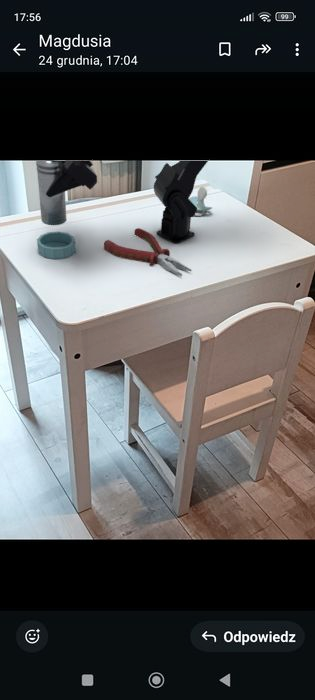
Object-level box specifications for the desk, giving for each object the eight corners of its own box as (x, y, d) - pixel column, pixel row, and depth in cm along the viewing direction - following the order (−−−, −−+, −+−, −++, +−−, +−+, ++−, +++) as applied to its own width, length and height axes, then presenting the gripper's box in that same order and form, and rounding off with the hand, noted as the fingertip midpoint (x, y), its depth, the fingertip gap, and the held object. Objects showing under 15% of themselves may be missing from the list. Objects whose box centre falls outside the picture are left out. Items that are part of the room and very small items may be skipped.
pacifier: (193, 220, 138) (214, 215, 141) (195, 195, 134) (216, 191, 137) (178, 208, 143) (199, 203, 146) (180, 184, 139) (200, 180, 142)
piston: (50, 212, 122) (46, 151, 114) (71, 217, 120) (68, 156, 112) (36, 221, 118) (30, 159, 110) (57, 227, 116) (53, 165, 108)
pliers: (167, 287, 114) (168, 276, 112) (101, 250, 124) (101, 239, 123) (204, 269, 121) (205, 258, 119) (138, 235, 131) (138, 225, 130)
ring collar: (59, 238, 127) (58, 228, 125) (82, 251, 123) (82, 241, 121) (30, 249, 122) (29, 239, 121) (53, 262, 118) (52, 252, 117)
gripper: (56, 88, 112) (6, 148, 116) (77, 116, 99) (20, 183, 102) (96, 126, 119) (48, 182, 123) (121, 158, 106) (65, 219, 110)
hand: (45, 190), depth 114 cm, fingers closed on piston, 5 cm apart
